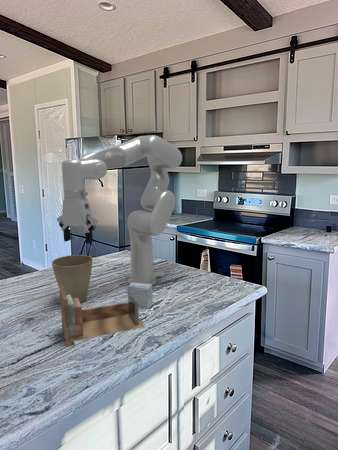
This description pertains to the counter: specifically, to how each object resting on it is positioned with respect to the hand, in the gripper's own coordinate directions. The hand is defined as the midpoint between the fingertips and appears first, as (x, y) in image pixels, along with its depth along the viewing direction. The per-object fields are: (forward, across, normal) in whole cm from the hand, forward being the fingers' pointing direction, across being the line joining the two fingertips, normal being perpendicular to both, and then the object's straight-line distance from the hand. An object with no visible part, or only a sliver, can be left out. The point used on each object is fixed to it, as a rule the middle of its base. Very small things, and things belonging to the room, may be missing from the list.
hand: (78, 241), depth 129 cm
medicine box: (+24, -22, -4) cm, 33 cm away
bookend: (+22, -26, +8) cm, 35 cm away
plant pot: (+24, +4, -1) cm, 24 cm away
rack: (+24, -20, +15) cm, 34 cm away
